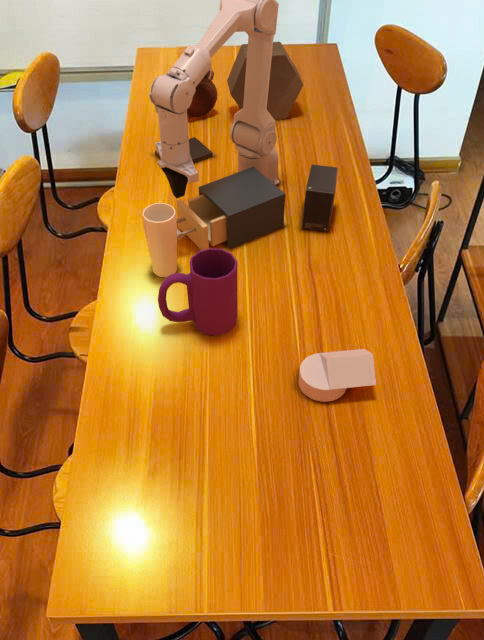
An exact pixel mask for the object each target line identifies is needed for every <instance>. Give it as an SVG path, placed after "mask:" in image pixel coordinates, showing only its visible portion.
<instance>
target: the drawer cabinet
mask: <svg viewBox="0 0 484 640" xmlns="http://www.w3.org/2000/svg"><path fill="white" fill-rule="evenodd" d="M202 194H203V195H204V196H205V197H206V198H207V199H208V200H209V201H210V202H211V203H212V204H213V205H215V206H216V207H217V208H218V209H219V210H220V211H221V212H222V213H223V214H224V215H225V216H226V217H227V241H224V242H222V243H223V244H224V245H225V246H226V248H228V249H229V250H230V249H233V248H234V247H237V246H239V245H242V244H244V243H247V242H249V241H252V240H254V239H256V238H259V237H262V236H264V235H267V234H269V233H271V232H273V231H276V230H279V229H281V228H283V227H284V225H285V208H286V192H284V191H283V190H282V189H281V188H280V187H278V186H277V184H276V185H275V184H274V183H272V182H271V181H270V180H269V179H268V178H266V177H265V176H264V175H263V174H262V173H260V172H259V171H258V170H257V169H256V168H255V167H251V168H248V169H246V170H243V171H240V172H238V171H237V172H234V173H231V174H230V175H227V176H224V177H221V178H219V179H216V180H213V181H211V182H207V183H205V184H203V185H199V186H198V196H200V195H202Z"/></svg>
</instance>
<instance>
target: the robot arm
mask: <svg viewBox="0 0 484 640" xmlns="http://www.w3.org/2000/svg"><path fill="white" fill-rule="evenodd" d="M278 14H279V2H278V0H220V2H219V12H218V13H217V15H216V16H215V18H214V19H213V21H212V22H211V24H210V25H209V27H208V28H207V30H206V31H205V33H204V34H203V35H202V37H201V39H200V40H199V42H198V43H197V44H191V45H188V46H187V47H186V48H185V49H184V51H183V52H182V53H181V55H180V56H179V57H178V58H177V60H176V61H175V62H174V64H173V65H172V66H171V67H170V69H169V70H168V71H167V72H166V73H163V74H160V75H159V76H156V77H155V78H154V80H153V82H152V83H151V85H150V93H149V94H148V97H149V101H150V102H151V103H152V105H153V106H154V111H155V113H156V114H157V116H158V130H159V139H160V141H157V142H155V143H154V145H155V151H156V152H157V153H159V154H160V158H161V160H160V159H159V160H157V166H158V167H160V169H161V171H162V172H163V174H164V175H165V177H166V179H167V181H168V184H169V187H170V190H171V193H172V195H173V197H174V198H175V199H181V198H182V197H184V196H185V195H186V191H187V186H188V183H189V184H193V183H197V182H198V181H199V172H198V170H197V169H196V168H195V165H194V164H195V163H193V161H192V158H191V155H190V151H189V139H190V138H189V123H188V120H189V118H188V114H187V109H188V108H189V107H190V105H191V102H192V98H193V95H194V94H195V91H196V89H195V88H196V86H197V85H198V84H199V83H200V81H201V80H202V79H203V77H204V76H205V75H206V74H207V72H208V71H209V70H210V68H212V57H213V56H214V55H215V54H216V53H217V52H218V51H219V50H220V49H221V48H222V47H223V46H224V45H225V44H226V42H227V41H228V40H229V39H231V37H232V36H233V35H234V34H235V33H237V32H238V33H242V32H243V33H244V32H245V34H247V36H248V37H247V44H248V49H247V62H246V76H245V89H244V102H243V109H239V110H237V111H236V112H235V113H234V115H233V121H232V125H231V126H230V131H229V136H230V137H229V138H230V141H231V142H232V143H233V144H234V147H235V150H237V172H240V171H243V170H246V169H248V168H251V167H255V168H256V169H257V170H258V171H259V172H260V173H262V174H263V175H264V176H265V177H266V178H268V179H269V180H270V181H271V182H272V183H274V184H275V185H276V186H277V185H279V184H280V180H278V179H279V161H280V159H279V153H278V150H277V148H276V144H277V139H278V138H277V131H276V125H277V124H276V123H277V121H276V120H274V119H273V117H272V116H271V115H270V113H269V112H268V111H267V99H268V89H269V79H270V69H271V59H272V49H273V42H274V38H275V35H276V34H277V25H278V16H279V15H278Z"/></svg>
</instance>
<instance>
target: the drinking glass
mask: <svg viewBox="0 0 484 640" xmlns="http://www.w3.org/2000/svg"><path fill="white" fill-rule="evenodd" d="M177 219H178V218H177V211H176V209H175V208H174V206H173V205H171V204H170V203H169V204H168V203H165V202H155V203H151V204H149V205H148V206H146V207H145V208H143V210H142V223H143V231H144V236H145V240H146V244H147V248H148V253H149V257H150V261H151V262H150V263H151V269H152V272H153V273H154V274H155V276H157V277H159V278H166V277H168V276H169V275H171V274H175V273H177V272H178V271H177V270H178V239H177V228H178V223H177Z"/></svg>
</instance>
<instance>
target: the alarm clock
mask: <svg viewBox="0 0 484 640" xmlns="http://www.w3.org/2000/svg"><path fill="white" fill-rule="evenodd" d="M214 76H215V72H214V70H213V67H211V68H210V70H209V71H208V72H207V74H206V75H205V76H204V77H203V79H202V80H201V81H200V83H199V84H198V85H197V86H196V88H195V89H196V91H195V94H194V95H193V98H192V102H191V105H190V107H189V108H188V109H187V116H189V118H188V120H189V121H192V118H196V119H197V118H202V117H204V116H207V115H208V116H211V115H212V114H211V113H210V112H211V111H212V110H213V109H214V107H215V106H216V104H217V101H218V89H217V87H216V85H215V83H214V82H213V80H214Z"/></svg>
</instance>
